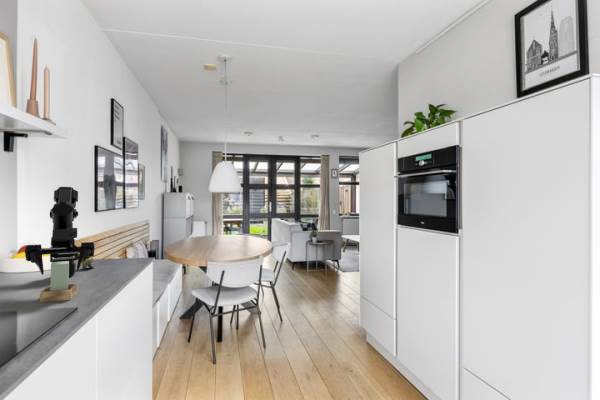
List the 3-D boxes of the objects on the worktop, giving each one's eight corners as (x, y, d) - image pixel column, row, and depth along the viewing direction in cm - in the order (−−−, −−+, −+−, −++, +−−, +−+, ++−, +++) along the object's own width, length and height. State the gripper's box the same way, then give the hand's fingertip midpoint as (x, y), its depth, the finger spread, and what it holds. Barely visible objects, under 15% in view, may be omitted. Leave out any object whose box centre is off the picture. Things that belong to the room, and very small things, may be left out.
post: (50, 300, 98) (50, 264, 98) (51, 296, 102) (52, 262, 102) (67, 298, 101) (68, 263, 101) (68, 294, 105) (69, 260, 105)
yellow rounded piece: (89, 271, 137) (70, 255, 136) (88, 274, 141) (69, 259, 139) (100, 262, 141) (81, 247, 139) (98, 265, 145) (80, 250, 143)
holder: (40, 302, 96) (40, 292, 96) (48, 294, 104) (48, 285, 104) (71, 299, 100) (71, 290, 100) (77, 292, 107) (77, 283, 107)
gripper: (26, 220, 103) (20, 261, 94) (94, 219, 114) (95, 255, 105) (28, 241, 110) (23, 281, 101) (93, 238, 120) (94, 274, 111)
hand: (60, 272), depth 104 cm, fingers open, 9 cm apart
